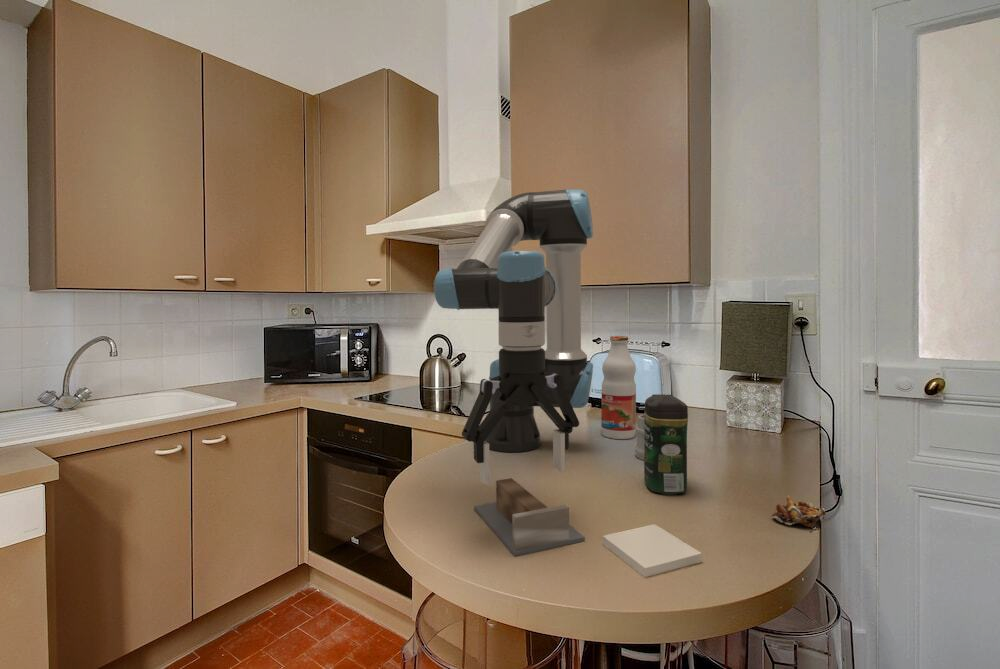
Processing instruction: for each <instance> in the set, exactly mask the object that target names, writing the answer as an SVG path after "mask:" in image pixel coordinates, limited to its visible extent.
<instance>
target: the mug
mask: <svg viewBox="0 0 1000 669" xmlns="http://www.w3.org/2000/svg"><path fill="white" fill-rule="evenodd" d="M644 421H645V413H644V414H643V413H642V414H639V415H638V416H637V427H636V433H637V435H636V445H635V447H634V453H636V455H635V456H636V458H637V459H639V460H641V461H644Z"/></svg>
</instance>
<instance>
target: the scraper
mask: <svg viewBox="0 0 1000 669" xmlns="http://www.w3.org/2000/svg"><path fill="white" fill-rule="evenodd" d="M495 485H496V486H495V489H496V490H495V491H496V492H495V495H496V496H495V498H496V501H495V502H496V508H497V509H498V510H499V511H500V512H501V513H502V514H503V515H504V516H505V517H506V518H507V519H508V520H509V521H510V522H511V524H512V533H513V548H514V549H515V550H521V549H526V548H530V547H535V546H540V545H544V544H549V543H554V542H558V541H563V540H568V539H569V525H570V507H569V506H567V505H566V504H562V505H557V506H551V507H548V506H547V505H546V504H545V503H543V502H542V501H541V502H542V503H541V502H540V500H539V499H538V498H537V497H536V496H534V495H533V494H532V493H531V492H529V491H528V490H527V489H525V487H523V486H522V485H521V484H520V483H518V482H517V481H516V480H514V479H513V478H512V477H511V478H506V479H499V480H498V479H497V480H495ZM535 497H536V498H537V499H536V498H535ZM545 505H546V506H547V507H546V506H545Z"/></svg>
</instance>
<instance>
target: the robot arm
mask: <svg viewBox="0 0 1000 669" xmlns="http://www.w3.org/2000/svg"><path fill="white" fill-rule="evenodd" d="M592 217H593V216H592V211H591V206H590V199H589V196H588V194H587V192H586V191H585V190H583V189H568V188H566V189H560V190H559V189H558V190H549V191H548V190H547V191H535V192H533V191H532V192H531V191H530V192H529V191H528V192H522V193H518V194H517V195H514V196H511V197H510V198H507V199H506V200H504V201H502V202H501V203H500V204H499V205H497V206H496V207H495V208H494V209H493V210H492V211H490V212H489V215H488V216H487V217H486V219H485V223H484V229H483V230H482V232H481V234H480V235H479V236H478V237H477V239H476V240H475V242H474V244H472V246H471V248H470V249H469V250H468V252H467V253H466V254H465V256H464V258H463V259H462V260H461V262H460V263H459V265H458V266H457V268H451V267H449V268H448V269H447V268H445V269H441V270H438V271H437V273H436V275H435V278H434V282H433V292H434V298H435V301H436V303H437V305H439V307H440V308H442V309H448V310H449V309H450V310H451V309H452V310H457V311H460V310H486V309H487V310H488V309H489V310H491V309H493V310H494V309H495V310H498V345H499V346H500V347H501V348H500V349H499V351H498V359H496V360H493V361H492V362H491V363H490V365H489V366H490V367H489V377H488V379H489V380H488V379H486V378H482V379H481V380H480V382H479V392H478V396H477V398H476V400H475V402H474V404H473V407H472V409H471V411H470V413H469V415H468V417H467V420H466V422H465V425H464V427H463V429H462V431H461V436H462V438H464V439H465V440H466V441H468V442H470V443H473V459H474V462H475V463H477V464H479V466H478V467H479V469H478V470H479V472H478V473H479V480H480V481H481V482H482V483H483V484H484V485H490V484H491V483H490V482H491V481H490V478H491V477H490V476H491V473H490V472H491V471H490V470H491V469H490V468H491V467H490V465H491V464H490V462H491V461H490V450H493V451H496V452H502V453H504V452H505V453H521V452H528V451H532V450H535V449H537V448H539V447H541V434H540V430H539V427H538V424H537V421H536V418H535V407H540V408H541V410H542V411H543V412H544V413H545V414H546V416H547V417H548V418H549V419H550V420H551V422H552V423H553V424H554V425H555V426H556V429H552V454H553V455H552V456H553V457H552V460H553V461H552V466H553V468H555V469H557V470H558V471H560V472H565V471H566V461H565V460H566V455H565V454H566V453H565V452H566V451H567V450H569V447H570V443H569V442H570V441H569V440H570V439H569V438H570V436H569V434H571V433H572V432H573V430H574V429H573V428H577V427H579V426H580V421H579V418H578V417H577V414H576V412H575V409H581V408H584V407H586V406H587V404H588V402H589V398H590V392H591V387H592V382H593V381H592V380H593V369H594V364H593V362H590V361H588V356H587V353H586V352H585V351H583V349H582V326H581V325H582V324H581V322H582V317H581V316H582V312H581V311H582V302H581V301H582V299H581V297H582V292H581V291H582V290H581V288H582V286H581V282H582V280H581V279H582V277H581V276H582V275H581V274H582V272H581V270H582V269H581V267H582V266H581V263H582V262H581V261H582V258H581V256H582V255H581V253H582V252H583V250H584V249H586V247H587V246H588V240H589V239H591V238H593V237H594V229H593V225H594V224H593V218H592ZM521 241H539V248H540V249H541V250H542V251H543V252H544V254H545V256H544V254H543V253H542V252H541V251H538V250H512V249H513V247H514V246H516V245H518V244H519V242H521ZM545 309H546V310H545ZM545 311H546V312H545ZM545 314H546V315H545ZM545 318H546V321H545ZM545 326H546V327H545ZM545 343H546V349H544V348H542V347H543V346H544V345H545ZM488 407H489V412H488V413H487V415H486V416H485V413H486V412H487V408H488ZM556 408H559V409H560V411H561V413H562V415H561V414H560V413H559V411H557V409H556ZM484 416H485V417H484ZM483 418H484V419H483Z"/></svg>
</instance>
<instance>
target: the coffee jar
mask: <svg viewBox="0 0 1000 669" xmlns="http://www.w3.org/2000/svg"><path fill="white" fill-rule="evenodd" d="M688 408H689V407H688V405H687V404H686V403H685V402H684V401H682V400H681V399H679V398H677V397H675V396H674V395H673V394H661V393H660V394H659V393H658V394H657V393H656V394H652V395H651V396H649V397H647V398H646V399H645V401H644V414H645V421H644V460H643V461H644V462H643V463H644V465H643V466H644V467H643V478H644V483H645V484H646V486H647V488H648V490H650V491H652V492H653V493H654V492H655V493H659V494H663V495H671V496H674V495H679V494H684V493H685V492H687V490H688V489H687V488H688V422H689V418H688V417H689V414H688V413H689V412H688V411H689V410H688Z"/></svg>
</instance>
